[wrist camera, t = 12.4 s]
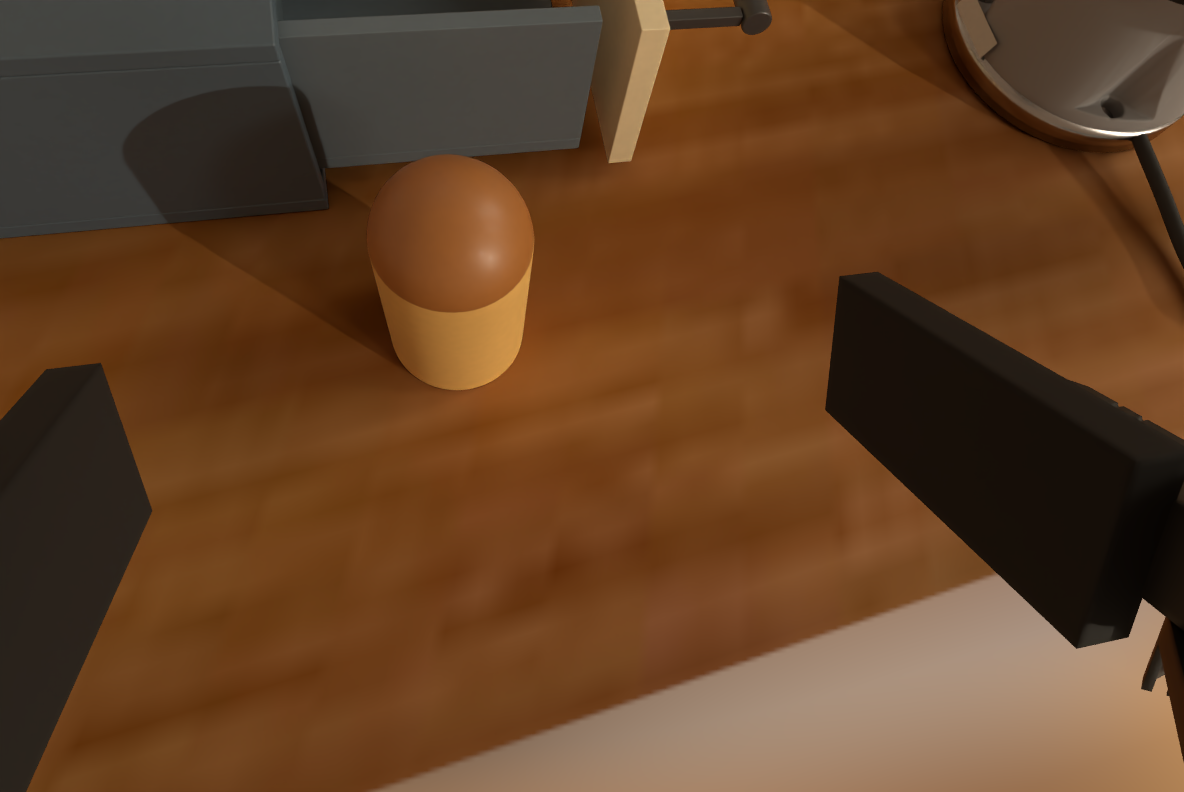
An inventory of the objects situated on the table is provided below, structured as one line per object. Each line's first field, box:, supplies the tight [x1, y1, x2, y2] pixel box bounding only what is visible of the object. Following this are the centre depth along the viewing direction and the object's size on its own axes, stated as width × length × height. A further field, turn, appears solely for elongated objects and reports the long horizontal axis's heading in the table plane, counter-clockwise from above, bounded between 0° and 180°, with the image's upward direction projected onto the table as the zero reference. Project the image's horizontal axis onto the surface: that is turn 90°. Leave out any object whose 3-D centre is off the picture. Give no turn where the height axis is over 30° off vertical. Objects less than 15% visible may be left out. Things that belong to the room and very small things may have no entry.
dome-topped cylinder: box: [367, 154, 534, 390], centre depth 32 cm, size 6×6×11 cm
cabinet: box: [0, 0, 329, 238], centre depth 34 cm, size 18×14×11 cm
